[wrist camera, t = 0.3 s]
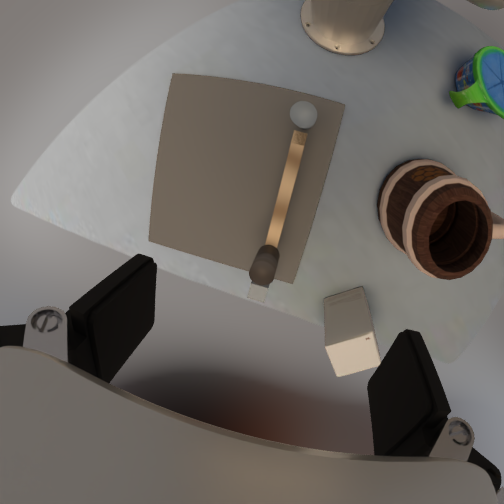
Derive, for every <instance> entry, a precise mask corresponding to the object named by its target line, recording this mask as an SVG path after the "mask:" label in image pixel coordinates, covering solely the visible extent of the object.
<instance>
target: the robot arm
mask: <svg viewBox="0 0 504 504" xmlns="http://www.w3.org/2000/svg"><path fill="white" fill-rule="evenodd" d="M393 1H394V0H305V2H304V3H303V6H302V8H301V21H302V25H303V28H304V30H305V32H306V33H307V35H308V36H309V37H310V38H311V39H312V40H313V41H314V42H315V43H316V44H318V45H319V46H321V47H322V48H324V49H326V50H328V51H330V52H334V53H337V54H342V55H359V54H363V53H366V52H369V51H370V50H372V49H374V48H375V47H376V46H377V45H378V44H379V42H380V41H381V39H382V37H383V35H384V30H385V25H384V20H383V16H384V15H385V13H386V12H387V10H388V8H389V7H390V5H391V4H392V2H393ZM467 1H469V2H470V3H472V4H474V5H476V6H479V7H481V8H484V9H488V10H499V9H502V8H504V0H467ZM307 25H309V26H310V27H307ZM370 42H371V43H372V44H373V45H372V44H370ZM335 48H338V50H336V49H335ZM156 273H157V264H156V263H154V261H153V258H151V257H148V256H145V255H142V254H137V255H135V256H134V257H133V258H131V259H130V260H129V261H127V262H126V263H125V264H123V265H122V266H121V267H119V268H118V269H117V270H115V271H114V272H113V273H112V274H110V275H109V276H107V277H106V278H105V279H104V280H102V281H101V282H100V283H99V284H97V285H96V286H95V287H93V288H92V289H91V290H90V291H88V292H87V293H86V294H85V295H83V296H82V297H81V298H80V299H79V300H77V301H76V302H75V303H73V304H72V305H71V306H70V307H69V310H68V311H67V312H66V313H64V311H62V310H61V309H59V308H56V307H50V306H49V307H48V306H47V307H41V308H39V309H36V310H35V311H33V312H32V313H31V314H30V315H29V317H28V319H27V323H26V324H23V325H9V326H0V504H504V488H503V487H502V488H500V485H501V473H500V471H499V469H497V467H496V466H495V465H493V464H492V463H491V462H490V461H489V460H487V459H486V458H485V457H484V456H482V455H481V454H480V453H479V452H478V451H476V450H475V449H474V448H473V447H472V446H473V443H474V439H475V438H474V432H473V430H472V428H471V426H470V425H469V424H468V423H467V422H466V421H465V420H463V419H461V418H458V417H453V418H451V419H448V418H447V415H448V414H449V413H450V412H451V409H450V406H449V404H448V401H447V398H446V395H445V392H444V389H443V387H442V384H441V381H440V379H439V376H438V374H437V371H436V369H435V366H434V364H433V361H432V359H431V357H430V354H429V352H428V350H427V347H426V345H425V343H424V340H423V338H422V336H421V334H420V332H417V331H413V330H408V329H406V330H404V331H403V332H400V333H399V334H398V336H397V338H396V339H395V341H394V343H393V344H392V346H391V348H390V349H389V351H388V352H387V354H386V356H385V357H384V359H383V360H382V362H381V363H380V365H379V367H378V368H377V370H376V371H375V373H374V374H373V376H372V377H371V378H370V380H369V382H368V386H367V390H368V397H369V405H370V413H371V422H372V431H373V443H374V455H360V454H349V453H339V452H331V451H324V450H317V449H310V448H304V447H298V446H293V445H287V444H282V443H278V442H272V441H268V440H264V439H260V438H255V437H252V436H247V435H244V434H240V433H236V432H233V431H229V430H226V429H223V428H219V427H216V426H213V425H210V424H207V423H204V422H200V421H198V420H195V419H192V418H189V417H186V416H183V415H180V414H178V413H175V412H173V411H170V410H168V409H165V408H162V407H160V406H157V405H155V404H153V403H150V402H148V401H146V400H143V399H141V398H139V397H137V396H135V395H132V394H130V393H128V392H126V391H124V390H121V389H119V388H117V387H115V386H113V385H111V384H109V383H110V381H111V380H112V379H113V378H114V376H115V374H116V373H117V372H118V371H119V370H120V368H121V367H122V366H123V364H124V363H125V362H126V360H127V359H128V358H129V356H130V355H131V354H132V353H133V351H134V350H135V349H136V348H137V346H138V345H139V344H140V342H141V341H142V340H143V339H144V337H145V336H146V335H147V333H148V332H149V331H150V330H151V328H152V326H153V324H154V317H155V290H156ZM499 488H500V489H499Z"/></svg>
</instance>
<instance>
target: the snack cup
mask: <svg viewBox="0 0 504 504" xmlns="http://www.w3.org/2000/svg"><path fill="white" fill-rule="evenodd" d="M456 87H457V91H458V92H454V91H450V92H449V94H450V97H451V99H452V101H453V103H454V105H455V106H456V107H457V108H461V107H462V106H464V105H466V104H467V105H468V106H470V107H471V108H473V109H476V110H479V111H484V112H489V113H492V114H496V115H499V116H500V117H501V118H503V119H504V50H502V49H500V48H498V47H494V46H487V47H484V48H481V49H480V50H479V51H478V52H477V53H475V55H474V57H473V58H472V59H470V60H469V61H468V62H467V63H465V64H464V65H463V66H462V67H461V68H459V70H458V71H457V73H456Z"/></svg>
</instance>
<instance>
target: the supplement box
mask: <svg viewBox="0 0 504 504" xmlns="http://www.w3.org/2000/svg"><path fill="white" fill-rule="evenodd" d="M324 324H325V349H326V351H327V354H328V356H329V359H330V361H331V364H332V366H333V368H334V371H335V373H336V375H337V377H339V376H344V375H348V374H351V373H355V372H358V371H363V370H366V369H369V368H373V367H377V366H379V365H380V363H381V359H380V353H379V349H378V344H377V339H376V334H375V330H374V326H373V322H372V318H371V313H370V309H369V305H368V302H367V299H366V296H365V293H364V290H363V287H359V288H355V289H352V290H349V291H346V292H343V293H340V294H337V295H333V296H330V297H327V298H325V299H324Z"/></svg>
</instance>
